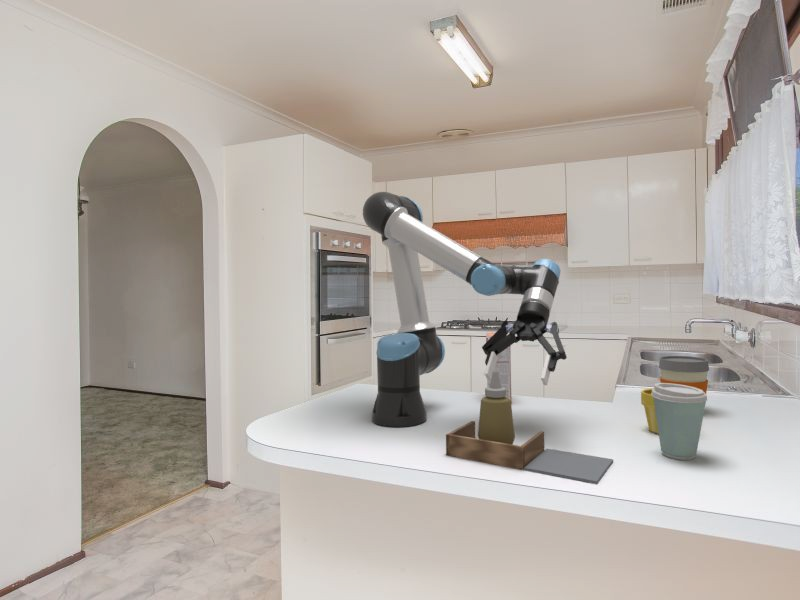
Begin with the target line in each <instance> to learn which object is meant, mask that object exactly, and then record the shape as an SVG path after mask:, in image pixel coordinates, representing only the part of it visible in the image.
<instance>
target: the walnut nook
mask: <svg viewBox="0 0 800 600" xmlns="http://www.w3.org/2000/svg"><path fill="white" fill-rule="evenodd" d="M544 450H545V431H544V430H543V431H542V430H540V431H539V432H537V433H536V434H535V435H533V436H532V437H531V438H529V439H528V440H526V441H525V442H524V443H523V444H521V445H518V444H513V445H512V444H506V443H500V442H494V441H488V440H482V439H479V438H476V420H475V421H473V420H471V421H469V422H467V423H465V424H464V425H462V426H459V427H458V428H456V429H454V430H452V431H450V432H448V433H447V434H445V453H446V454H445V455H446V456H451V457H454V458H455V457H456V458H461V459H465V460H469V461H476V462H480V463H484V464H485V463H486V464H491V465H495V466H502V467H507V468H511V467H512V469H516V468H517V470H522V469H523V471H525V470H524V467H525V466H527V465H528V464H529V463H530V462H531V461H532V460H534V459H535V458H536V457H537V456H538V455H540V454H541V453H542V452H543V451H544Z"/></svg>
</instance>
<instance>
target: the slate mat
mask: <svg viewBox="0 0 800 600" xmlns="http://www.w3.org/2000/svg"><path fill="white" fill-rule="evenodd" d="M613 463H614V459H613V458H608V457H607V458H606V457H601V456H596V455H595V456H594V455H590V454H589V455H588V454H584V453H583V454H582V453H576V452H572V451H564V450H559V449H552V448H544V451H543V452H542V453H541V454H540V455H538V456H537V457H536V458H535V459H534V460H532V461H531V462H530V463H529V464H528V465H527V466H525V467H524V470H523V471H527V470H528V472H532V471H533V472H532V473H537V472H538V473H539V474H542V475H543V474H544V475H547V474H548V475H549V476H554V477H558V478H563V479H568V480H569V479H570V480H574V481H579V482H583V483H589V482H591V483H590V484H594V483H596V484H595V485H598V484H599V482H600V480H601V479H602V478H601V477H603V476H604V475H605V474H606V472H607V471H608V470H609V469H610V467H611V465H612V464H613ZM607 469H608V470H607ZM604 473H605V474H604ZM598 481H599V482H598Z"/></svg>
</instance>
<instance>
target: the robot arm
mask: <svg viewBox="0 0 800 600" xmlns="http://www.w3.org/2000/svg"><path fill="white" fill-rule="evenodd" d="M362 217H363V218H362V219H363V220H364V223H365V224H366V226H367V227H369V228H370V230H372V231H373V232H376V233H377V234H380V235H381V237H380V238H381V241H382V244H383V245H384V246H386V248H388V255H389V260H390V266H391V273H392V278H393V284H394V289H395V290H394V291H395V295H396V297H395V298H396V303H397V308H398V316H399V320H400V328H399V329H398V330H397V332H396V333H394V334H388V335H384V336H382V337H380V338H379V339H378V341H377V343H376V345H377V347H376V351H375V352H376V353H375V354H376V363H377V364H376V366H377V367H376V370H377V374H376V375H377V394H376V398H375V401H374V405H373V409H372V411H371V421H372V423H374V424H376V425H379V426H383V427H393V428H401V427H412V426H417V425H421V424H423V423H425V422H427V420H428V419H427V418H428V417H427V416H428V415H427V410H426V406H425V404H424V399H423V397H422V394H421V391H420V390H421V389H420V388H421V385H420V383H421V382H420V380H421V379H420V376H422V375H424V374H430V373H432V372H433V371H434V370H436V369H437V368H438V367H440V366H441V364H442V363H443V360H444V358H445V356H446V355H445V354H446V349H445V344H444V342H443V340H442V339H441V338H440V337H439V336H438V335H437V330H436V326H435V325H434V323H431V322H430V319H429V318H430V317H429V312H428V306H427V301H426V294H425V289H424V282H423V277H422V268H421V263H420V256H419V254H420V255H422V256H423V257H424V258H426V259H428V260H430V261H431V262H433V263H435V264H437V265H438V266H440V267H441V268H442V269H444V270H446V271H448V272H450V273H451V274H453V275H454V276H455V277H458V278H460V280H463V281H464V282H466V283H467V284H469V285H470V286H471V287H472V288H473V290H474V291H475V292H476V293H478V294H479V295H483V296H486V297H487V296H488V297H489V296H491V297H492V296H495V295H496V296H497V295H505V294H506V295H522V296H523V297H522V298H521V299H522V300H521V303H520V306H519V309H518V313H517V316H516V321H514V323H509V322H508V321H507V320H504V321H502V324H501V325H500V327H499V328H498V329H497V331H496V332H494V333H495V334H494V335H493V336H492V337H491V338H490V339H489V340H488V341H487V342H486V341H485V343H484V344H483V345H482V346H481V348H482V350H483V353H484V354H485V355H486V357H485V359H484V363H485V365H486V368H485V371H484V376H485V378H486V381H487V380H491V378H492V373H493V371H494V368H495V365H496V362H497V359H498V358H497V355H498V354H499V353H501V352H502V351H504V350H505V349H506V348H508V347H509V346H511V347H512V345H513V344H515V343H516V344H517V343H518V342H520V341H522V342H527V341H529V342H534V341H538V343H539V344H540V345H541V346H542V347H543V349H544V350H545V351H546V353H547V354H546V356H545V360H544V363H543V364H544V365H543V368H542V372H541V375H540V380H541V382H542V384H543V386H548V383H549V379H550V374H551V372H552V373H554V372H555V371H556V367H557V363H558V361H559V360H563V361H564V360H566V359H567V354H566V351H565V349H564V346H563V344H562V341H561V338H560V335H559V334H560V333H559V332H560V328H559V326H558V323H557V322H556V321H553V322H551V324H548V323H549V319H550V314H551V311H552V307H553V302H554V299H555V295H556V292H557V289H558V285H559V284H560V276H561V268H560V265H558V264H557V263H556V261H554V260H551V259H548V258H541V259H538V260H536V261H535V262H534V263H533V265H532V266H515V265H514V266H513V265H511V266H510V265H498V264H495V263H493V262H492V261H490V260H488V259H486V258H484V257H482V256H481V255H480V254H478V253H476V252H475V251H473V250H471V249H469V248H467V247H466V246H464V245H462V244H461V243H458V242H457V241H455V240H454V239H452V238H450V237H448V236H447V235H445V234H443V233H442V232H440V231H439V230H436V229H434V228H433V227H431V226H429V225H428V224H427V223H424V222H423V219H424V216H423V212H422V209H421V207H420V205H418V203H416V202H415V201H414V200H412V199H411V198H409V197H407V196H403V195H398V194H394V193H391V192H387V191H379V192H378V191H377V192H374V193H373V194H371V195H370V196H369V197H368V198H367V199H366V200H365V202H364V205H363V207H362ZM547 331H548V332H549V334H551V335H552V336H553V339H554V342H555V344H556V347H557V350H558V351H556V350H555V349H554V348H553V347H552V345H551V344H550V342H549V341H548V340H547V339H546V338H545V336H544V334H545V333H547Z"/></svg>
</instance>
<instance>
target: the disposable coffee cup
mask: <svg viewBox="0 0 800 600" xmlns="http://www.w3.org/2000/svg"><path fill="white" fill-rule="evenodd" d="M651 389H652V393H651V395H652V396H653V398H654V405H655V412H656V419H657V426H658V433H659V434H658V438H659V446H660V451H661V452H662V455H663V456H665V457H666V458H670V459H674V460H678V461H681V460H682V461H687V460H689V461H690V460H693V459H695V457H696V455H697V453H698V447H699V443H700V435H701V431H702V426H703V419H704V414H705V409H706V404H707V403H706V402H707V401H708V396H707V393H706V394H705V392H703V390H701V389H698V388H695V387H691V386H686V385H680V384H672V383H660V382H657V383H654V385H653V388H651Z"/></svg>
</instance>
